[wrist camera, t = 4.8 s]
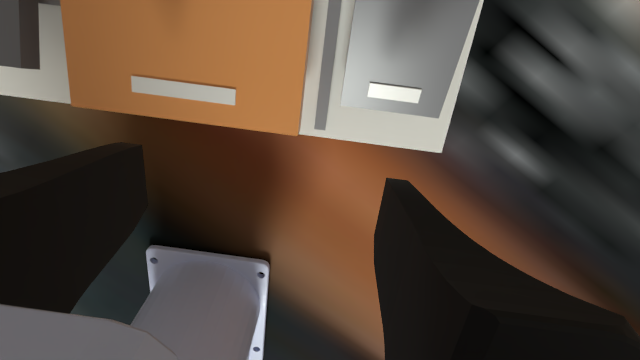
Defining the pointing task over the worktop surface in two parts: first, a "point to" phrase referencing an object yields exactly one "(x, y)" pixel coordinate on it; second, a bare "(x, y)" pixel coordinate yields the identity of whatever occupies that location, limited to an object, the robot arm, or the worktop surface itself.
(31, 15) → the charcoal rocker off
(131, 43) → the orange slotted panel
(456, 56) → the grey flat block
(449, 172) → the worktop surface
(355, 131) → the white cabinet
